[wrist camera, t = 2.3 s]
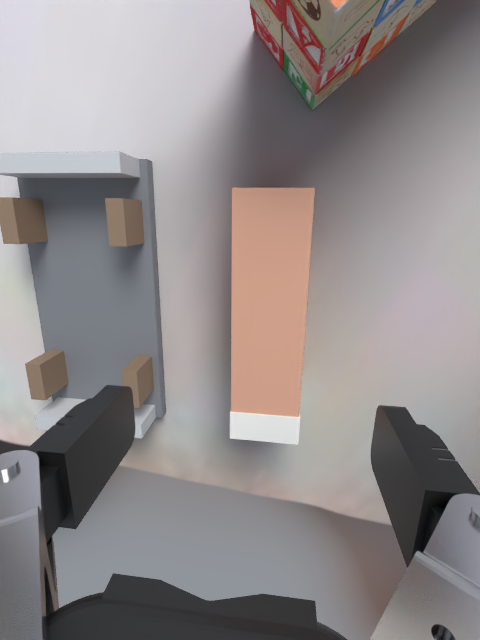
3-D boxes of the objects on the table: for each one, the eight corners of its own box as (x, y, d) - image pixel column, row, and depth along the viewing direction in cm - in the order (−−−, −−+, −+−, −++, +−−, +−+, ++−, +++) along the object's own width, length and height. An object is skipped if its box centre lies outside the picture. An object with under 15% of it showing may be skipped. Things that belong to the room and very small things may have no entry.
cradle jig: (151, 161, 25) (127, 151, 21) (165, 411, 31) (148, 439, 27) (24, 162, 26) (-21, 153, 22) (60, 403, 32) (30, 428, 28)
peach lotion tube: (309, 194, 24) (316, 187, 19) (296, 398, 29) (298, 444, 23) (243, 194, 25) (230, 187, 19) (241, 394, 29) (230, 438, 24)
